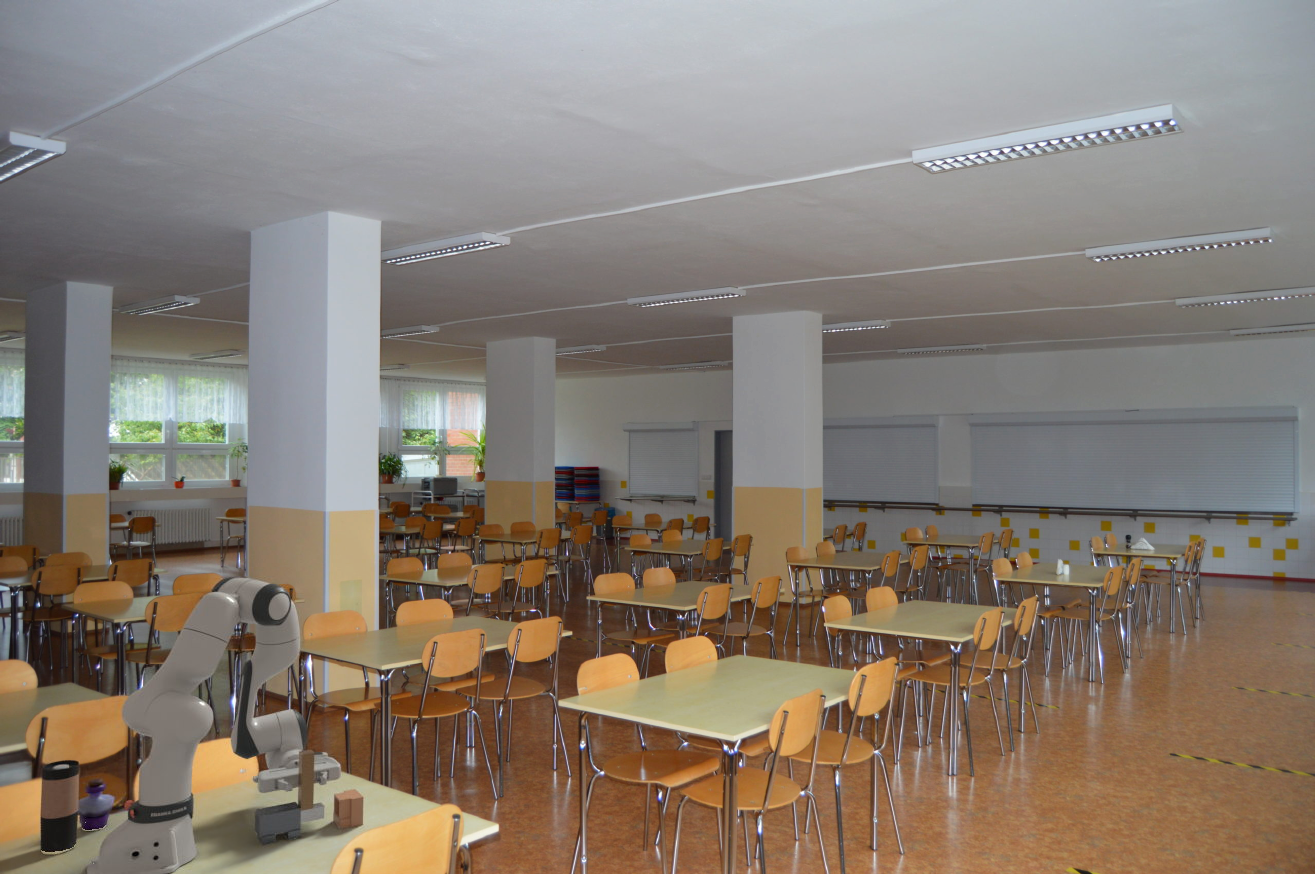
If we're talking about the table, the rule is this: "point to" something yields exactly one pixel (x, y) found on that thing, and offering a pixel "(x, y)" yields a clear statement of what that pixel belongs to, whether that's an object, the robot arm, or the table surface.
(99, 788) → the potion bottle
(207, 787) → the table surface
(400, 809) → the table surface
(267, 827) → the sleeve
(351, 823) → the socket block
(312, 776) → the upright mallet
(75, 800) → the travel mug
